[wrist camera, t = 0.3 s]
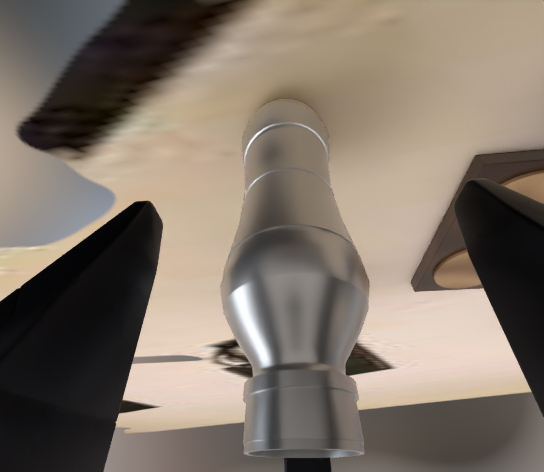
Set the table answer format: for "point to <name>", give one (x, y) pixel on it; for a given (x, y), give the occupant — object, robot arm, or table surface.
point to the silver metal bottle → (294, 292)
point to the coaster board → (448, 239)
